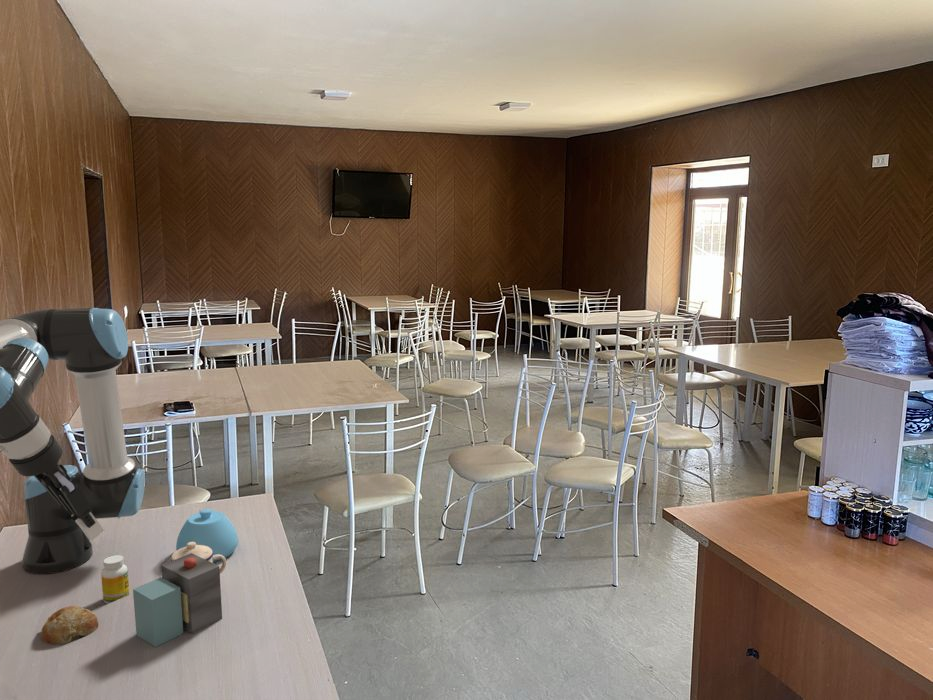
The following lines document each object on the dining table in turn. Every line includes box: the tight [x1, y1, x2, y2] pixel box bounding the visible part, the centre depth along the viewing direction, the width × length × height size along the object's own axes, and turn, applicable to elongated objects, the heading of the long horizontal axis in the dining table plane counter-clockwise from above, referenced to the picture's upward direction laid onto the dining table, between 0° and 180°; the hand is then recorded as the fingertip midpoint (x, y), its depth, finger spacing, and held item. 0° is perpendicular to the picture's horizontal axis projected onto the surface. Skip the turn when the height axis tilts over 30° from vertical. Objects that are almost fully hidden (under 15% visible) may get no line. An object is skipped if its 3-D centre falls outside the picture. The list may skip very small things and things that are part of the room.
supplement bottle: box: [100, 554, 130, 605], centre depth 158 cm, size 5×5×10 cm
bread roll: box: [40, 605, 99, 645], centre depth 143 cm, size 10×10×8 cm
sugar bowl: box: [175, 508, 239, 563], centre depth 180 cm, size 15×15×12 cm
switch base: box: [160, 553, 223, 634], centre depth 141 cm, size 12×22×14 cm, turn 144°
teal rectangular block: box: [132, 577, 184, 648], centre depth 141 cm, size 7×6×10 cm
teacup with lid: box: [170, 542, 227, 575], centre depth 162 cm, size 12×9×12 cm
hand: (96, 534), depth 135 cm, fingers closed
